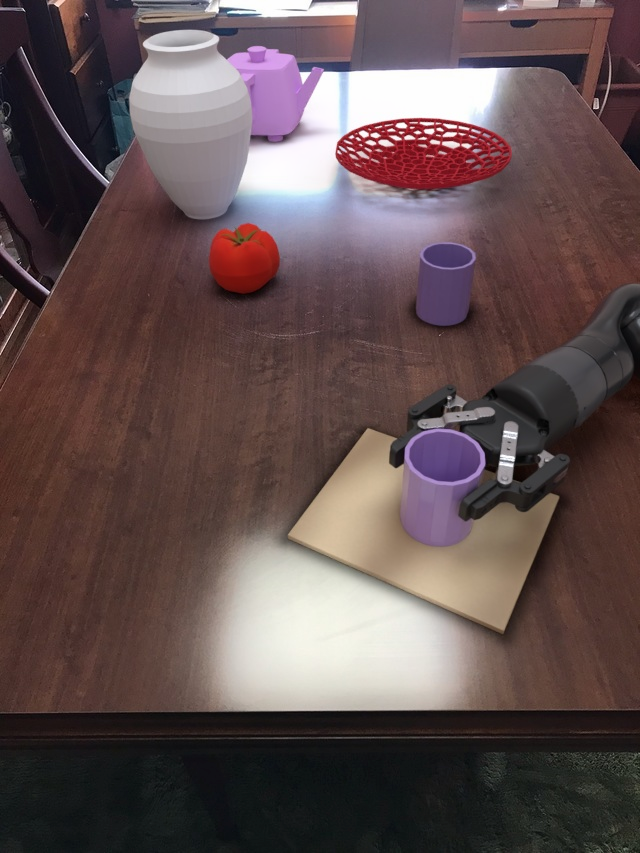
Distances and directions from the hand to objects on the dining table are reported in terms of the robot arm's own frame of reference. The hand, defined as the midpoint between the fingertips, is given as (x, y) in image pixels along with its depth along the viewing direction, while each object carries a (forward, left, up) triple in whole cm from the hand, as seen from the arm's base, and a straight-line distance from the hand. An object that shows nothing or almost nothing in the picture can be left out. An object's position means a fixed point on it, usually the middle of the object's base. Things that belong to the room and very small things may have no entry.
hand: (426, 484), depth 57 cm
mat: (0, -2, -7) cm, 7 cm away
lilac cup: (+12, -35, -7) cm, 37 cm away
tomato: (+38, -29, -7) cm, 48 cm away
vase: (+57, -45, -7) cm, 73 cm away
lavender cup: (-1, -2, -6) cm, 6 cm away
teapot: (+68, -79, -7) cm, 105 cm away
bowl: (+31, -72, -7) cm, 79 cm away
